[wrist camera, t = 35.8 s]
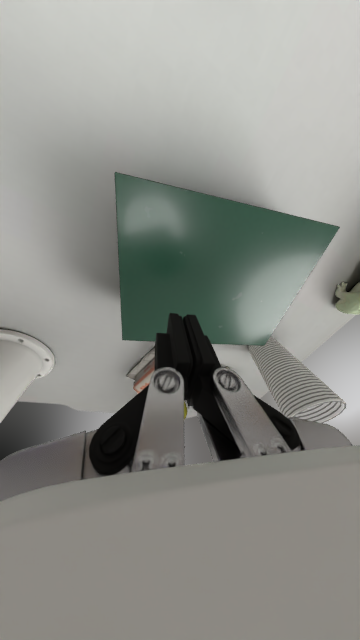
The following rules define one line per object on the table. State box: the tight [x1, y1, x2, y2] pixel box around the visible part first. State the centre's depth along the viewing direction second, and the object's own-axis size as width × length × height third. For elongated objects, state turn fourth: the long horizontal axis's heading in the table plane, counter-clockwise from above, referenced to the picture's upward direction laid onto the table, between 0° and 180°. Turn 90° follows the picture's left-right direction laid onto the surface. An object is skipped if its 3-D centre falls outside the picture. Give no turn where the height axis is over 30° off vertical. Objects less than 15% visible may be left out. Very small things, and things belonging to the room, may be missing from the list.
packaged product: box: [126, 348, 155, 393], centre depth 33 cm, size 18×5×10 cm
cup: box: [248, 336, 346, 423], centre depth 29 cm, size 8×8×16 cm
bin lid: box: [115, 172, 340, 346], centre depth 17 cm, size 20×16×1 cm
